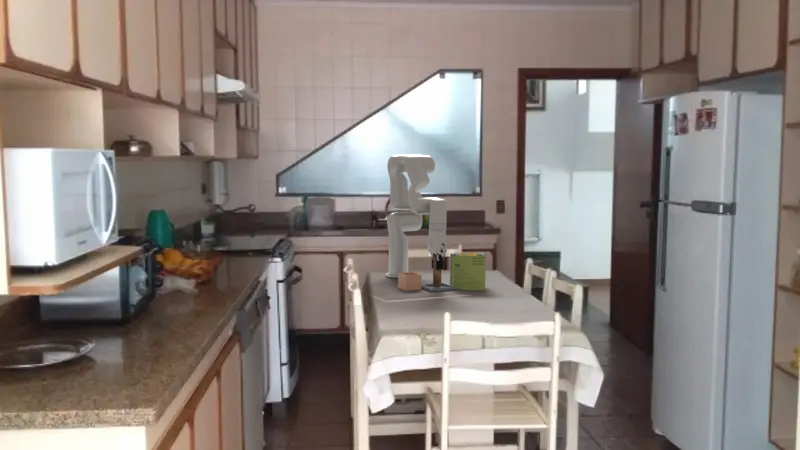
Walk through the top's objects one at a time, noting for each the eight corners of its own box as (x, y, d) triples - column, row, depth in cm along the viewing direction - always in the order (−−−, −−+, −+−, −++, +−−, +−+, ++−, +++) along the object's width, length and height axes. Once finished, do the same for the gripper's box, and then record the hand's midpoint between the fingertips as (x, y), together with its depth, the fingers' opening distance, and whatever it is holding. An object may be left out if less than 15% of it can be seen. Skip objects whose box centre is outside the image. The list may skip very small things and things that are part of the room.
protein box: (485, 290, 320) (486, 255, 319) (450, 290, 321) (450, 255, 319) (483, 286, 331) (483, 252, 330) (449, 286, 331) (449, 252, 330)
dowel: (431, 286, 320) (431, 254, 319) (438, 285, 322) (439, 254, 320) (435, 287, 317) (435, 255, 316) (442, 286, 319) (442, 255, 317)
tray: (418, 289, 322) (418, 284, 322) (442, 287, 327) (442, 282, 327) (431, 293, 312) (431, 288, 311) (455, 291, 317) (455, 286, 316)
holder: (398, 289, 321) (398, 272, 321) (413, 288, 324) (413, 271, 324) (405, 292, 314) (405, 275, 314) (421, 291, 318) (421, 274, 317)
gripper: (421, 225, 323) (421, 266, 325) (439, 229, 308) (438, 272, 310) (436, 225, 326) (436, 265, 328) (454, 228, 311) (454, 271, 313)
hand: (437, 268), depth 319 cm, fingers closed on dowel, 3 cm apart
